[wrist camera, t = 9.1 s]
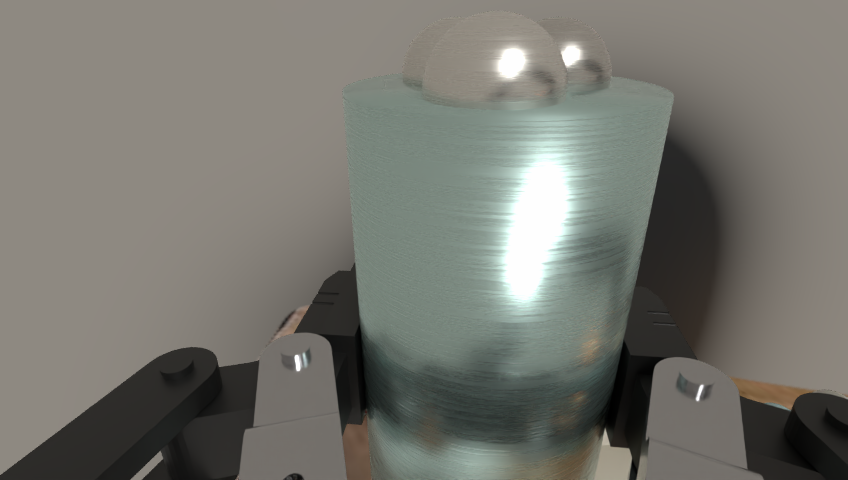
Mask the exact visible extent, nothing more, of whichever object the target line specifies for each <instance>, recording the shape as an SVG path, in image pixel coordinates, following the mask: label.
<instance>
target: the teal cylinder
mask: <svg viewBox="0 0 848 480" xmlns="http://www.w3.org/2000/svg"><path fill="white" fill-rule="evenodd" d="M673 100H674V95H673V93H672V92H670V91H669V90H667V89H665V88H663V87H660V86H657V85H653V84H650V83H646V82H641V81H637V80H632V79H626V78H620V77H613V76H611V61H610V56H609V53H608V50H607V47H606V45H605V43H604V41H603V40H602V39H601V37H600V36H599V35H598V34H597V33H596V32H595V31H594V30H593V29H592V28H591V27H589V26H588V25H586V24H584V23H583V22H581V21H578V20H575V19H571V18H566V17H553V18H547V19H543V20H540V21H537V22H535V21H533V20H531V19H529V18H527V17H525V16H523V15H520V14H517V13H513V12H508V11H488V12H483V13H479V14H476V15H473V16H470V17H468V18H458V17H453V18H446V19H441V20H439V21H436V22H434V23H432V24H430V25H429V26H427V27H426V28H424V29H423V30H422V31H421V32H420V33H419V34H418V35H417V36H416V37H415V38H414V40H413V41H412V43H411V45H410V46H409V48H408V50H407V52H406V55H405V59H404V63H403V72H402V73H401V74H392V75H386V76H379V77H374V78H369V79H364V80H360V81H357V82H354V83H352V84H349V85H347V86H346V87H345V88H344V89H343V104H344V119H345V132H346V145H347V159H348V171H349V184H350V198H351V212H352V225H353V238H354V252H355V265H356V278H357V292H358V305H359V318H360V332H361V345H362V358H363V371H364V385H365V398H366V411H367V425H368V438H369V451H370V465H371V478H372V480H594V479H595V474H596V470H597V465H598V460H599V455H600V450H601V446H602V441H603V436H604V431H605V426H606V422H607V417H608V412H609V407H610V402H611V398H612V393H613V388H614V383H615V378H616V374H617V369H618V364H619V359H620V354H621V350H622V345H623V340H624V335H625V330H626V326H627V321H628V316H629V311H630V306H631V302H632V297H633V292H634V287H635V282H636V278H637V273H638V268H639V263H640V258H641V254H642V249H643V244H644V239H645V235H646V229H647V225H648V220H649V215H650V211H651V206H652V201H653V196H654V191H655V186H656V182H657V177H658V172H659V167H660V163H661V158H662V153H663V148H664V143H665V139H666V134H667V129H668V124H669V119H670V114H671V110H672V105H673Z"/></svg>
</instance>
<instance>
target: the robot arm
mask: <svg viewBox="0 0 848 480" xmlns="http://www.w3.org/2000/svg"><path fill="white" fill-rule="evenodd" d="M365 411H366V398H365V385H364V371H363V358H362V345H361V332H360V318H359V305H358V292H357V278H356V265H355V263H354V265H353V267H352V269H351V271H338V272H337V273H335V274H333V275H332V276H331V277H329V278H328V279H326V280H325V281H324V283H323V285H322V287H321V288H320V290H319V292H318V294H317V295H316V297H315V298H314V300H313V303H312V304H311V305H310V307H309V308H308V310H307V312H306V314H305V315H304V317H303V319H302V320H301V322H300V324H299V325H298V327H297V329H296V331H295V332H294V334H290V335H286V336H283V337H281V338H278V339H276V340H275V341H273V342H272V343H270V344H269V345H268V346H267V347H266V348H265V349H264V350H263V351H262V353H261V355H260V360H258V361H255V362H250V363H244V364H238V365H231V366H224V367H219V366H218V362H217V358H216V356H215V354H214V353H213V352H211V351H209V350H207V349H204V348H197V347H190V348H182V349H178V350H174V351H171V352H168V353H166V354H163V355H162V356H159V357H157V358H156V359H154V360H153V361H151V362H150V363H149V364H147V365H146V366H145V367H143V368H142V369H140V370H139V371H138V372H136V373H135V374H134V375H132V376H131V377H130V378H128V379H127V380H126V381H125V382H123V383H122V384H121V385H119V386H118V387H117V388H115V389H114V390H113V391H111V392H110V393H109V394H107V395H106V396H105V397H103V398H102V399H101V400H99V401H98V402H97V403H96V404H94V405H93V406H91V407H90V408H89V409H87V410H86V411H85V412H83V413H82V414H81V415H80V416H78V417H77V418H75V419H74V420H73V421H71V422H70V423H69V424H68V425H66V426H65V427H64V428H62V429H61V430H60V431H58V432H57V433H56V434H54V435H53V436H52V437H50V438H49V439H48V440H46V441H45V442H44V443H42V444H41V445H40V446H38V447H37V448H36V449H35V450H33V451H32V452H30V453H29V454H28V455H26V456H25V457H24V458H23V459H21V460H20V461H18V462H17V463H16V464H14V465H13V466H12V467H11V468H9V469H8V470H7V471H5V472H4V473H3V474H1V475H0V480H130V479H131V478H132V477H133V476H134V475H136V473H138V472H139V471H140V470H141V469H142V468H143V467H144V466H145V465H146V464H147V463H148V462H149V461H150V460H151V459H152V458H153V457H154V456H155V455H156V454H157V453H158V452H159V451H160V450H161V453H162V456H163V460H162V461H161V462H160V463H158V464H157V466H156V467H155V468H154V469H152V470H151V472H149V474H147V475H146V476H145V477H144V478H143V479H142V480H235V479H236V478H237V476H238V474H239V480H347V475H346V466H345V458H344V449H343V441H342V436H343V433H344V430H345V427H346V424H359V425H362V422H363V418H364V415H365ZM605 429H606V433H607V436H608V440H609V443H610V447H619V448H629V450H630V453H631V456H632V460H631V464H630V468H629V472H628V477H627V480H848V399H845V398H843V397H839V396H836V395H831V394H826V393H806V394H803V395H801V396H799V397H798V398H797V399H796V400H795V402H794V405H793V407H792V409H791V411H789V410H786V409H782V408H778V407H775V406H771V405H768V404H764V403H760V402H757V401H753V400H750V399H747V398H744V397H742V396H739V391H738V388H737V386H736V385H735V383H734V382H733V381H732V380H731V379H730V378H729V377H728V376H727V375H726V374H725V373H723V372H722V371H720V370H719V369H717V368H715V367H713V366H711V365H709V364H707V363H704V362H702V361H698V360H697V358H696V356H695V355H694V353H693V351H692V350H691V348H690V346H689V345H688V343H687V341H686V340H685V338H684V336H683V335H682V333H681V331H680V330H679V328H678V326H676V323H675V322H674V320H673V318H672V316H671V315H669V311H668V310H667V308H666V307H665V305H664V303H663V301H662V300H661V299H660V298H659V297H658V296H656V295H655V294H654V293H653V292H651V291H650V290H649V289H647V288H646V287H638V286H635V287H634V292H633V297H632V302H631V306H630V311H629V316H628V321H627V326H626V330H625V335H624V340H623V345H622V350H621V354H620V359H619V364H618V369H617V374H616V378H615V383H614V388H613V393H612V398H611V402H610V407H609V412H608V417H607V422H606V426H605Z"/></svg>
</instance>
